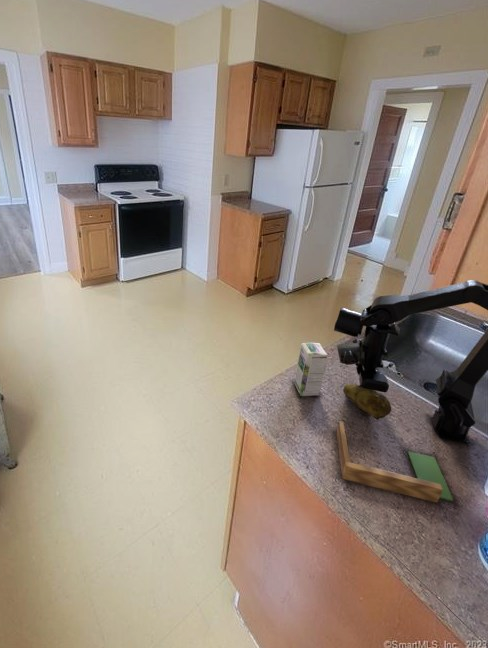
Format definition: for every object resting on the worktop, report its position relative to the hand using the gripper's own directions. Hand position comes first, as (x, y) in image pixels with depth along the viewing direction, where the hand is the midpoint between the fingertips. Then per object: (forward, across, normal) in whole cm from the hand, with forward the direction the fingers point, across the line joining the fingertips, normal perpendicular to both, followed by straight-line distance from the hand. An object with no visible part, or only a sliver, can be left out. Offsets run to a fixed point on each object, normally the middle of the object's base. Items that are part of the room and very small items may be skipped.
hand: (361, 386), depth 92 cm
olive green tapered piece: (+3, +5, 0) cm, 6 cm away
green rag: (+3, +22, +11) cm, 24 cm away
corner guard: (+3, +22, +1) cm, 22 cm away
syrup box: (+4, +2, -15) cm, 15 cm away
